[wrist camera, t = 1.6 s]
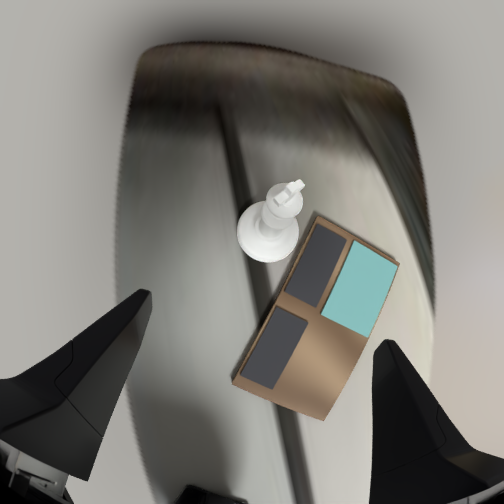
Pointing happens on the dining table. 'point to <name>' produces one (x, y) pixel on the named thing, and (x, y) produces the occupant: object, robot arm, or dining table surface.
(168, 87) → the dining table surface
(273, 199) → the chess piece
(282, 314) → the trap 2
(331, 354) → the walnut board
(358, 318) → the pad
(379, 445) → the robot arm
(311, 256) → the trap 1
